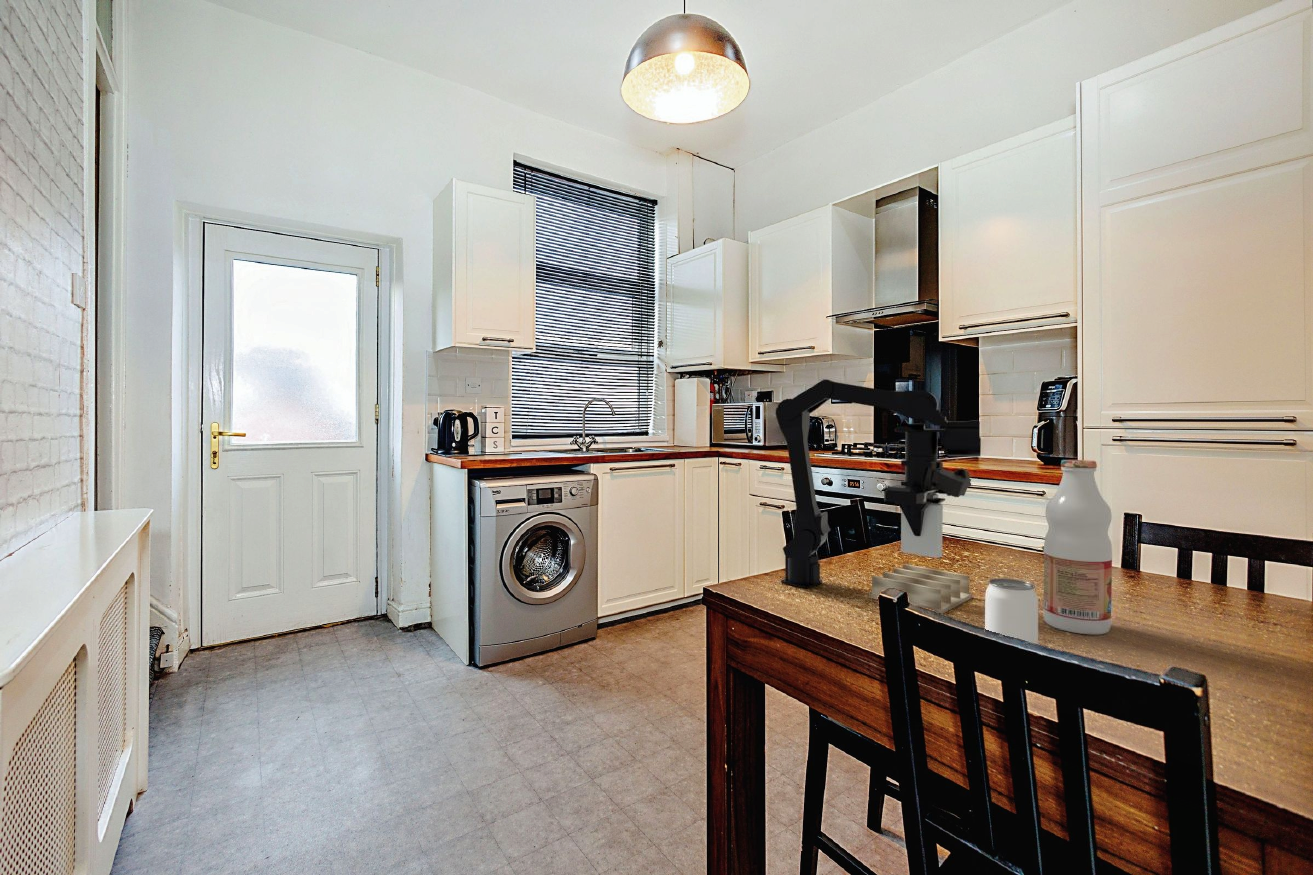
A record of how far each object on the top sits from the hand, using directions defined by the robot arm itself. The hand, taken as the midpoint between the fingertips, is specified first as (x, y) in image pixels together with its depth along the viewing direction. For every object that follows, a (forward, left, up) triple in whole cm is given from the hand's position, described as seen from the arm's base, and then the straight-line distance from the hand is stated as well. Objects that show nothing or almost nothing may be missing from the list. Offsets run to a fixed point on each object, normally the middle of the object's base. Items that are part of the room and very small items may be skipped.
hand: (920, 534), depth 118 cm
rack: (0, 0, -12) cm, 12 cm away
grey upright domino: (0, 0, -4) cm, 4 cm away
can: (+23, -23, -13) cm, 35 cm away
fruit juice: (+25, +3, -13) cm, 28 cm away
